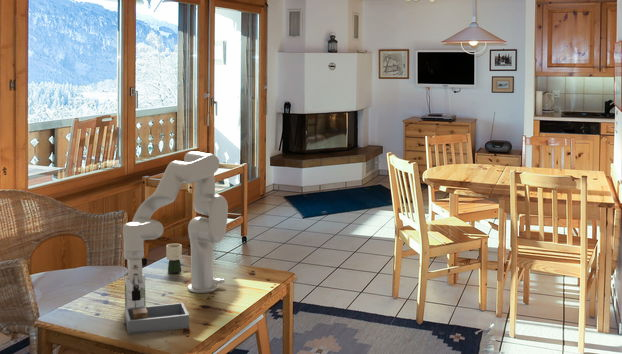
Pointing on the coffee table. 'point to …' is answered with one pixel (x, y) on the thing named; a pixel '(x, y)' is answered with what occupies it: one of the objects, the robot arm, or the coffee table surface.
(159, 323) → the tote
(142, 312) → the walnut cube
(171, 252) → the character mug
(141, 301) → the syrup box
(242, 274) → the coffee table surface
